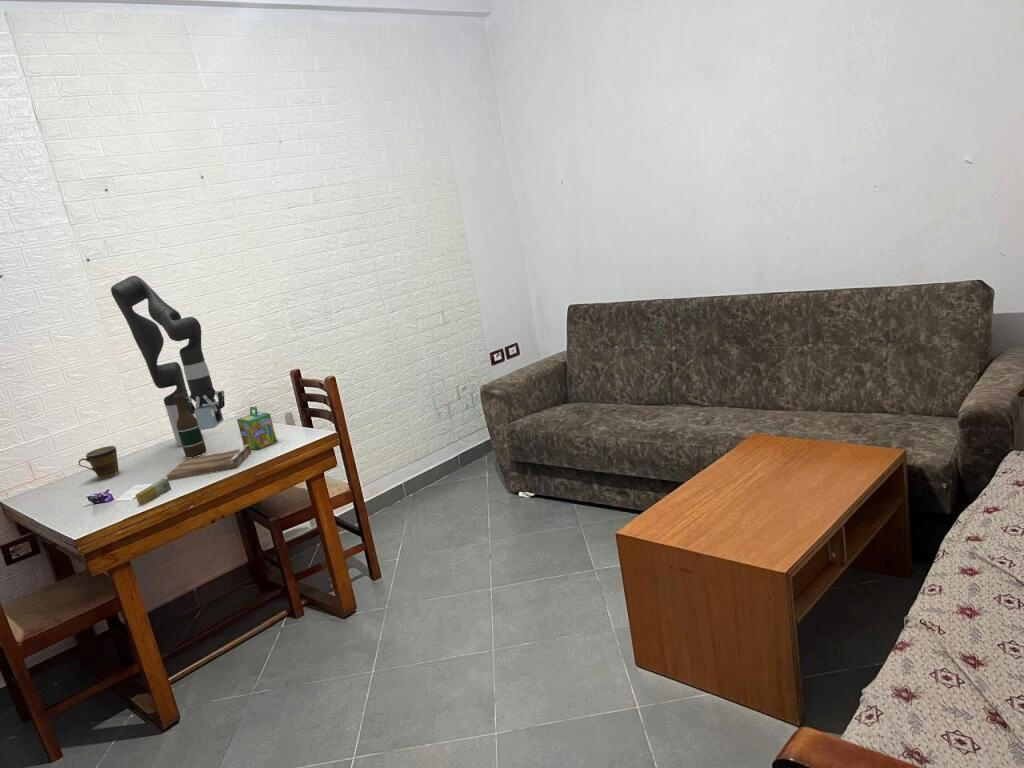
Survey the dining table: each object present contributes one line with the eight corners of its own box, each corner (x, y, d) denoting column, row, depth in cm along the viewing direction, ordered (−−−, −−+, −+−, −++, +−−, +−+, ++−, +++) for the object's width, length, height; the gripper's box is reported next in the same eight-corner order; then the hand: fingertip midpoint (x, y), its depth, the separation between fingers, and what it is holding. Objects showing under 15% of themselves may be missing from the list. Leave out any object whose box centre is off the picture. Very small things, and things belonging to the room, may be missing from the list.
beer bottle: (211, 449, 281) (193, 390, 275) (200, 456, 273) (182, 395, 267) (192, 452, 282) (174, 393, 276) (181, 459, 274) (162, 398, 269)
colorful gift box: (243, 448, 274) (233, 411, 270) (265, 439, 280) (255, 403, 277) (256, 450, 268) (246, 412, 264) (278, 441, 274) (268, 404, 271)
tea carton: (199, 430, 251) (193, 411, 249) (210, 422, 259) (204, 404, 258) (214, 427, 250) (208, 408, 249) (223, 420, 259) (218, 401, 258)
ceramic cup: (119, 469, 277) (110, 444, 275) (127, 472, 270) (119, 447, 268) (81, 482, 269) (73, 456, 266) (89, 486, 262) (80, 460, 259)
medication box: (165, 490, 242) (161, 478, 241) (172, 489, 242) (168, 478, 241) (138, 506, 231) (134, 494, 230) (145, 505, 230) (141, 493, 230)
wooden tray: (187, 464, 267) (184, 456, 266) (251, 452, 266) (249, 444, 266) (168, 480, 251) (165, 471, 251) (236, 468, 251) (234, 459, 250)
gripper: (172, 382, 247) (186, 429, 251) (213, 374, 247) (227, 422, 251) (182, 376, 255) (195, 423, 259) (222, 369, 254) (235, 416, 258)
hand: (211, 422), depth 255 cm, fingers closed on tea carton, 5 cm apart
